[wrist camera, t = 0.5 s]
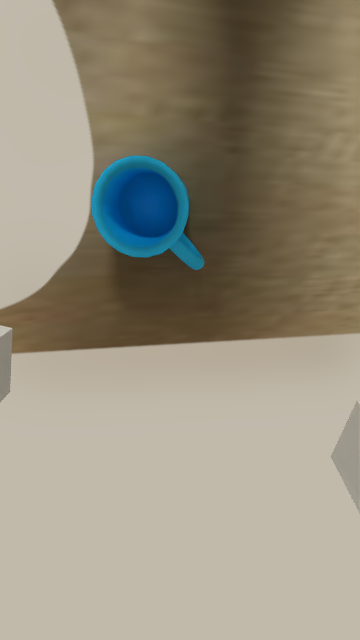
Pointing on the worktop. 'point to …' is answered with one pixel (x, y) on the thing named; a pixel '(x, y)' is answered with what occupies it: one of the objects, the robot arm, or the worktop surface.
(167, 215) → the mug
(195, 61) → the worktop surface
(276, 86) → the worktop surface
